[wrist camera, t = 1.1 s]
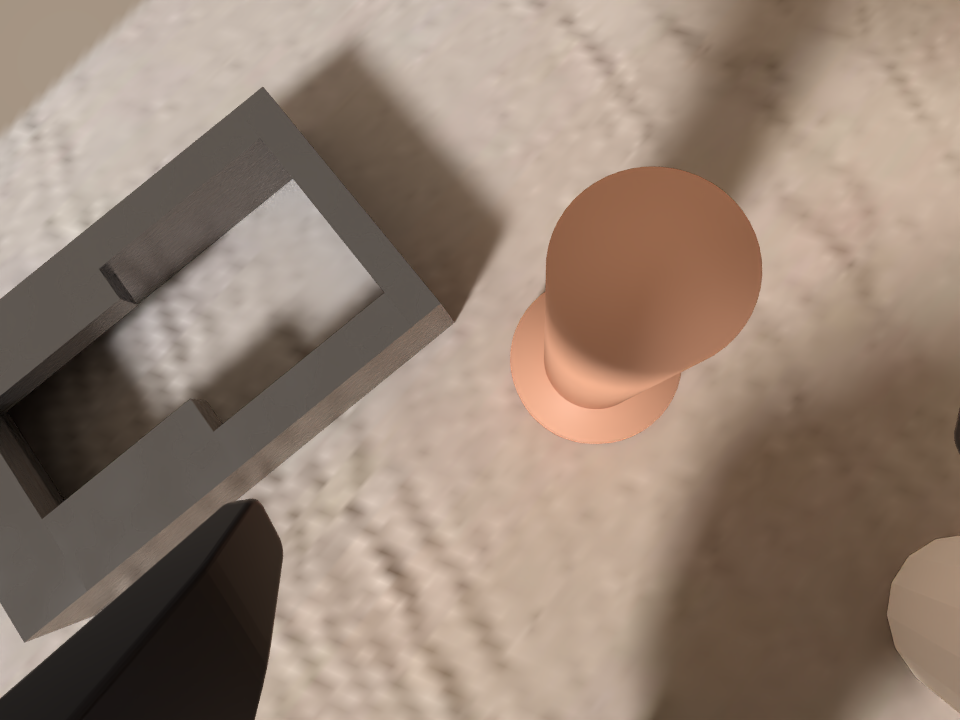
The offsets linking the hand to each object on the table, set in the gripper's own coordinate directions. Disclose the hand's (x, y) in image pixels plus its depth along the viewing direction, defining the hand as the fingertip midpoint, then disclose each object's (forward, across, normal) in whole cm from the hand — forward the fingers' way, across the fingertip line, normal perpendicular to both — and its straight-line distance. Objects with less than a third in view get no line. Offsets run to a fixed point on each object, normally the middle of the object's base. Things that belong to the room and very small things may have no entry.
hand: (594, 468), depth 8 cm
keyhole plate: (+15, +14, +5) cm, 21 cm away
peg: (+14, -1, +7) cm, 16 cm away
